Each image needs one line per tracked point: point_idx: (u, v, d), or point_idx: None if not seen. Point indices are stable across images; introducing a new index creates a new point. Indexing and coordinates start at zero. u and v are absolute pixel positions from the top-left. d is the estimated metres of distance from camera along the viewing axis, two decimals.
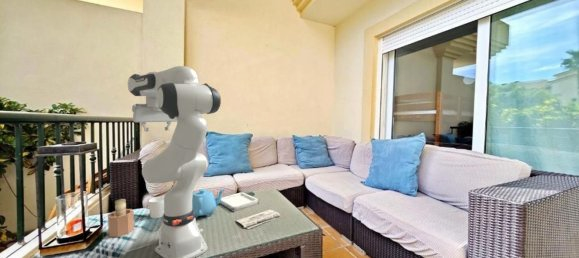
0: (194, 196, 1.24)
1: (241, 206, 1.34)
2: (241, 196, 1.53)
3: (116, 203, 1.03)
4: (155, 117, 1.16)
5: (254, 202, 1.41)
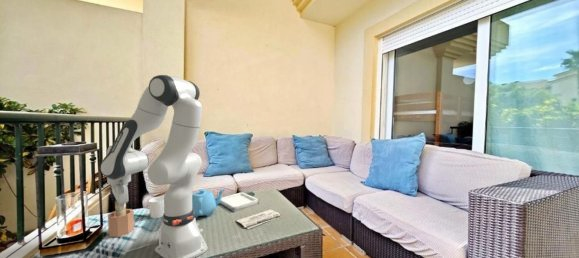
0: (194, 196, 1.24)
1: (241, 206, 1.34)
2: (241, 196, 1.53)
3: (116, 203, 1.03)
4: None
5: (254, 202, 1.41)
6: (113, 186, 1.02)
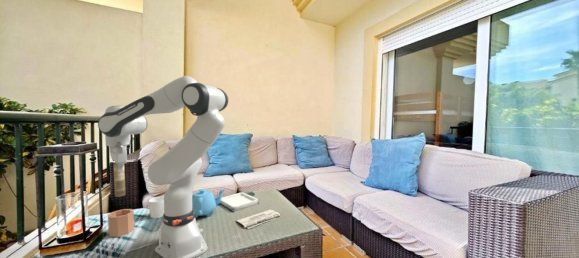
0: (194, 196, 1.24)
1: (241, 206, 1.34)
2: (241, 196, 1.53)
3: (114, 165, 1.02)
4: None
5: (254, 202, 1.41)
6: (111, 148, 1.01)
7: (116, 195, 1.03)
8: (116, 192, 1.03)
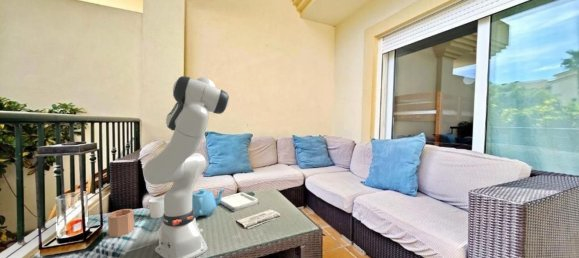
0: (194, 196, 1.24)
1: (241, 206, 1.34)
2: (241, 196, 1.53)
3: None
4: None
5: (254, 202, 1.41)
6: None
7: None
8: None
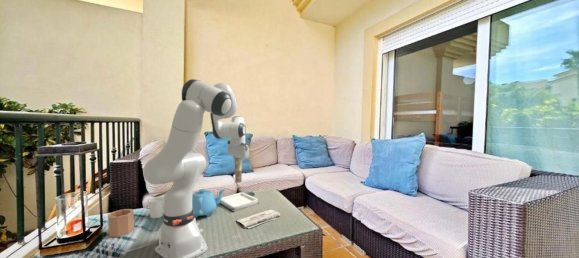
0: (194, 196, 1.24)
1: (241, 206, 1.34)
2: (241, 196, 1.53)
3: (236, 160, 1.41)
4: None
5: (254, 202, 1.41)
6: (236, 147, 1.39)
7: (237, 181, 1.41)
8: (237, 179, 1.41)
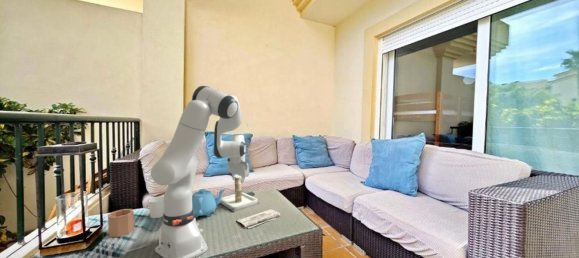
0: (194, 196, 1.24)
1: (241, 206, 1.34)
2: None
3: (236, 180, 1.41)
4: None
5: (254, 202, 1.41)
6: (236, 165, 1.40)
7: (237, 201, 1.42)
8: (237, 199, 1.42)
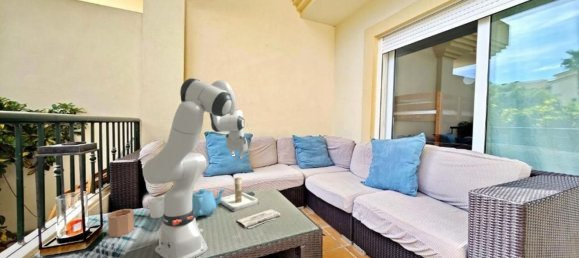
0: (194, 196, 1.24)
1: (241, 206, 1.34)
2: None
3: (236, 180, 1.41)
4: None
5: (254, 202, 1.41)
6: (234, 140, 1.39)
7: (237, 201, 1.42)
8: (237, 199, 1.42)
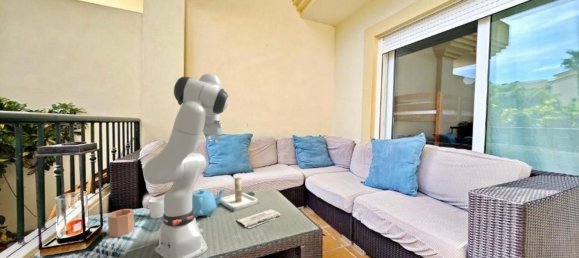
0: (194, 196, 1.24)
1: (241, 206, 1.34)
2: None
3: (236, 180, 1.41)
4: None
5: (254, 202, 1.41)
6: (209, 124, 1.39)
7: (237, 201, 1.42)
8: (237, 199, 1.42)
